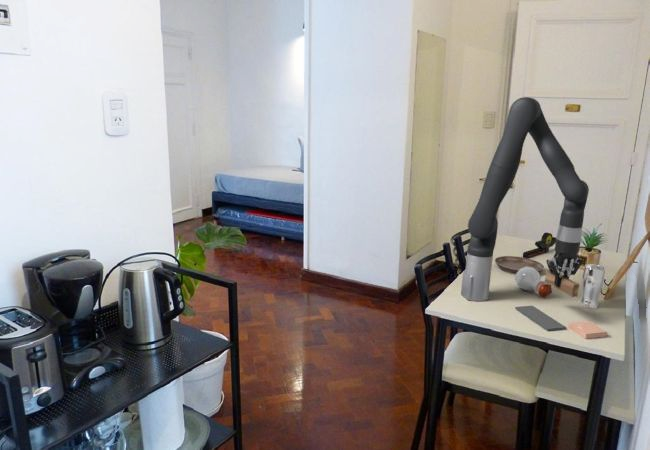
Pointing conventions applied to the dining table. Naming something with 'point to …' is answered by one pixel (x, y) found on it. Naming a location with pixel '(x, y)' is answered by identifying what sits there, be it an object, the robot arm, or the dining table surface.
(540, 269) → the plant saucer
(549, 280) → the bar
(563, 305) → the dining table surface
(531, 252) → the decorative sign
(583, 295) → the silver upright cylinder
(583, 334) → the glazed tile
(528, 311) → the mat
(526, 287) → the potion bottle
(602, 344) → the dining table surface
